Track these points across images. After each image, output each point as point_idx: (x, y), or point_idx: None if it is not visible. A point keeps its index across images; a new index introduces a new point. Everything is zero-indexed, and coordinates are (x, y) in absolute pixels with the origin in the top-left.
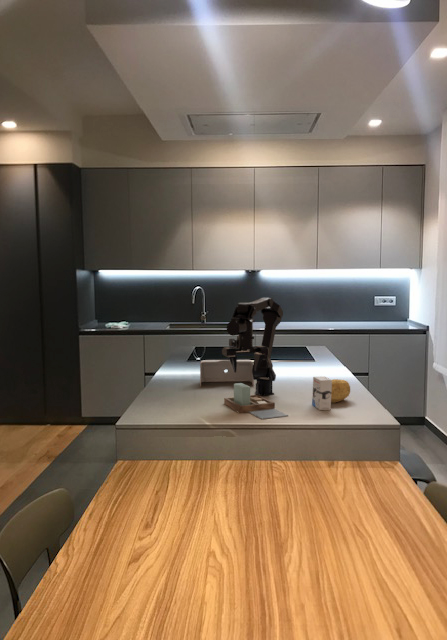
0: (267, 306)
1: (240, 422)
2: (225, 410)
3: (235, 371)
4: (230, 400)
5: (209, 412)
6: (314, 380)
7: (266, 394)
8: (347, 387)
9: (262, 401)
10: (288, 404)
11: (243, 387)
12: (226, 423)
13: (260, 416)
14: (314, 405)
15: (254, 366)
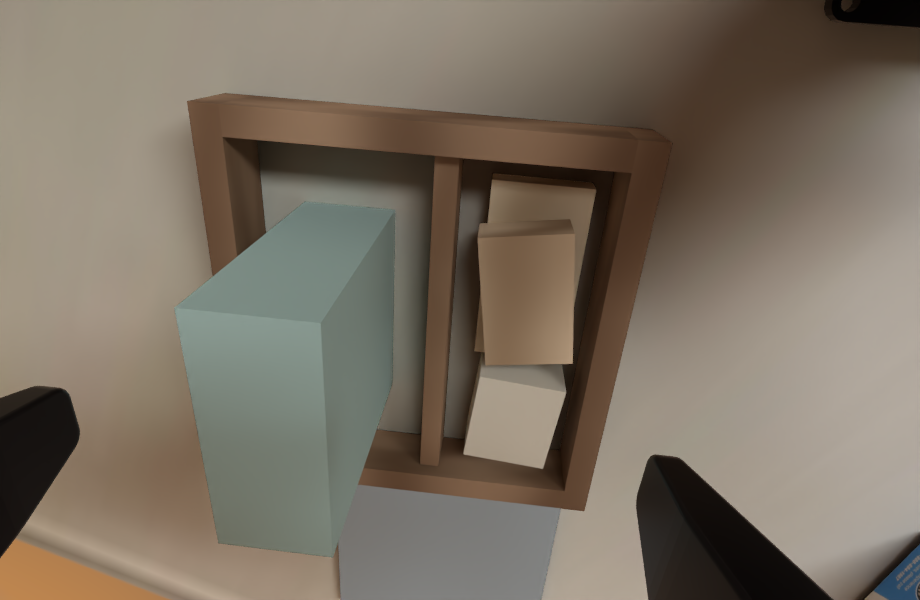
0: None
1: (197, 578)
2: (175, 315)
3: (42, 466)
4: (227, 246)
5: (27, 304)
6: None
7: (914, 26)
8: None
9: (536, 400)
10: (800, 414)
11: (238, 544)
12: (110, 557)
13: (353, 573)
14: (897, 580)
15: (694, 541)
